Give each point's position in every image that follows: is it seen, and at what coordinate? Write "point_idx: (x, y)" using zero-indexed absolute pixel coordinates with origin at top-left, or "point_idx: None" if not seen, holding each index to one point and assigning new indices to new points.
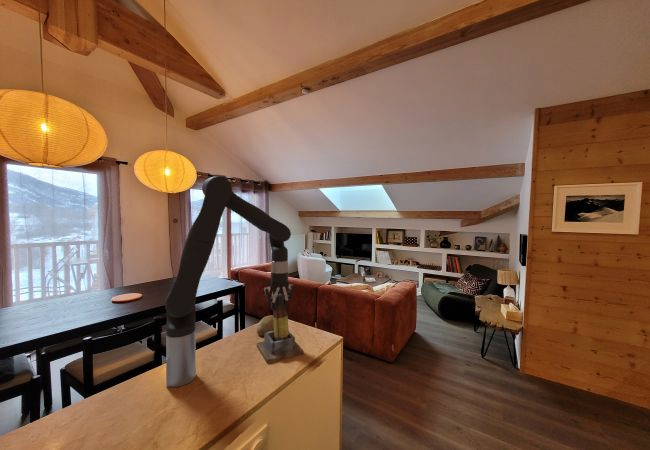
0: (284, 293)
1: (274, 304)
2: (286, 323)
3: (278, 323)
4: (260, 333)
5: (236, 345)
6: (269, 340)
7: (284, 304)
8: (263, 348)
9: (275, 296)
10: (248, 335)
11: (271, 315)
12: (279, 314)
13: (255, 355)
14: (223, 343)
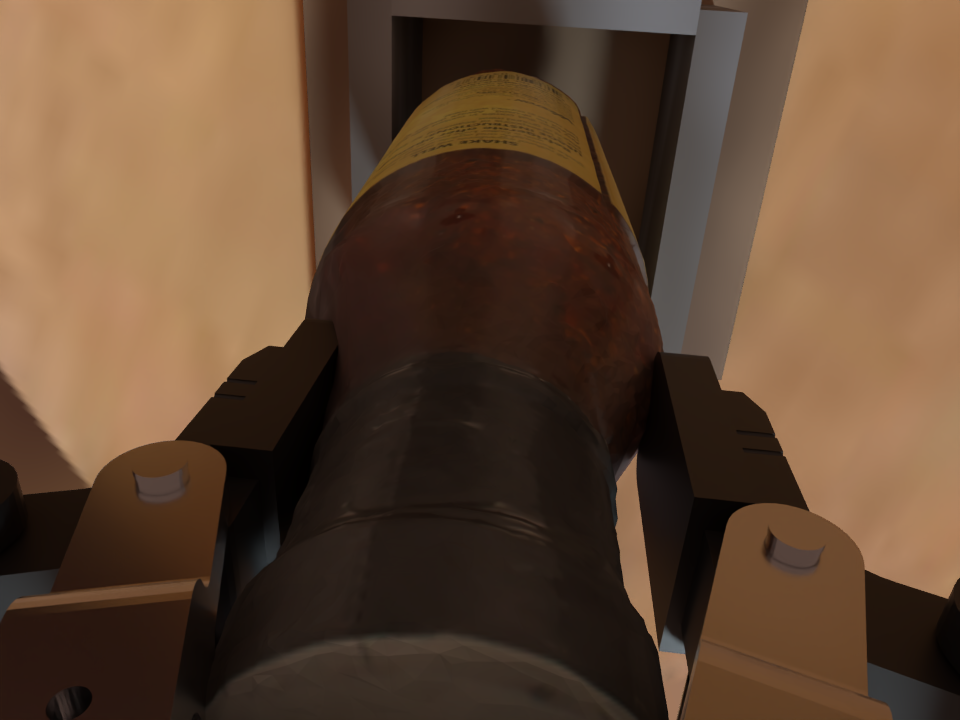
0: (134, 711)
1: (718, 456)
2: (416, 133)
3: (591, 159)
4: None
5: (874, 482)
6: (724, 127)
7: (320, 415)
8: (718, 218)
9: (797, 695)
10: None
11: None
12: (572, 207)
13: (824, 181)
14: (954, 577)
